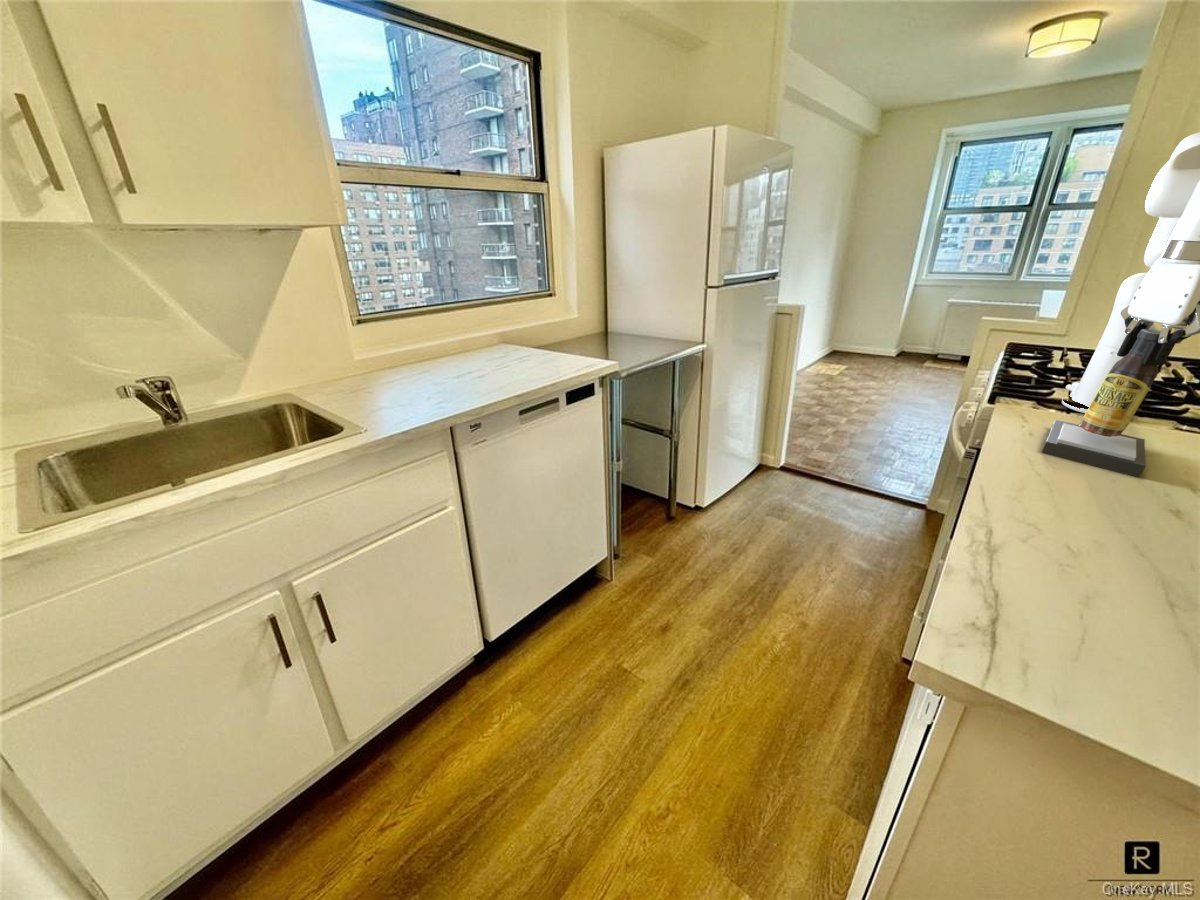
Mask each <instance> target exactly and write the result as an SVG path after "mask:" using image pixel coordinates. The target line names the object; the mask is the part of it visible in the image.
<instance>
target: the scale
mask: <svg viewBox="0 0 1200 900" xmlns="http://www.w3.org/2000/svg"><path fill="white" fill-rule="evenodd" d="M1080 425H1081V422H1080V423H1079V424H1077V423H1073V422H1067V421H1064V420H1059V419H1054V421H1053V423H1052V425H1051V427H1050V429H1049V431H1048V434H1047V437H1046V440H1045V441H1044V444H1043V446H1042V449H1041V453H1042V454H1045V455H1046V454H1047V455H1051V456H1055V457H1057V458H1062V459H1065V460H1069V461H1073V462H1077V463H1082V464H1086V465H1089V466H1094V467H1098V468H1101V469H1104V470H1109V471H1113V472H1117V473H1120V474H1125V475H1129V476H1132V477H1136V478H1140V476H1141V474H1142V473H1143V472H1144V470H1145V468H1146V441H1145V438H1141V437H1136V436H1132V435H1127V434H1123V433H1121V434H1120V435H1119V436H1111V437H1107V436H1102V435H1099V434H1095V433H1091V432H1089V431H1086V430H1084V429H1083V428H1082V427H1081V426H1080Z"/></svg>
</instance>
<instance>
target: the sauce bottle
mask: <svg viewBox="0 0 1200 900" xmlns="http://www.w3.org/2000/svg"><path fill="white" fill-rule="evenodd" d="M1160 332H1161V330H1159V329H1157V330H1152V329H1142V330H1141V331H1140V332H1139V334H1138V335H1137V340H1136V342H1135V344H1134V345H1133V347H1132V349H1131V350H1130V352H1129V353H1128V354H1127V355H1126V356H1124V357H1123V358H1122V359H1120V360H1119V361H1117V362H1116V363H1115V364H1114V366H1113V367H1112V369H1111V370H1110V372H1109V373H1108V374H1107V376H1106V378H1105V379H1104V381H1103V383H1102V385H1101V386H1100V388H1099V390H1098V392H1097V394H1096V395H1095V397H1094V399H1093V401H1092V403H1091V404H1090V406H1089V408H1088V410H1087V412H1086V413H1084V416H1082V420H1081V422H1080V423H1081V425H1080V426H1081V427H1082V428H1083V429H1084V430H1086V431H1089V432H1091V433H1095V434H1099V435H1102V436H1107V437H1111V436H1119V435H1120V434H1123V432H1124V431H1125V430H1127V427H1128V426H1129V424H1130V422H1131V421H1132V420H1133V418H1134V416H1135V414H1136V412H1137V410H1139V407H1140V405H1141V404H1142V403H1143V400H1144V399H1145V397H1146V396H1147V394H1148V392H1149V391H1150V389H1151V387H1152V384H1153V383H1154V381H1155V379H1156V378H1157V376H1158V375H1159V365H1145V364H1143V360H1144V358H1145V356H1146V354H1147V352H1148V351H1149V349H1150V347H1151V345H1152V343H1153V342H1158V339H1159V335H1160Z"/></svg>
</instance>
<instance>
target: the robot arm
mask: <svg viewBox="0 0 1200 900" xmlns="http://www.w3.org/2000/svg"><path fill="white" fill-rule="evenodd" d="M1144 208H1145V212H1146V214H1147V215H1148V216H1150V217H1154V218H1157V219H1159V220H1158V222H1157V224H1156V227H1155V229H1154V231H1153V233H1152V236H1151V238H1150V239H1149V243H1148V244H1147V247H1146V249H1145V252H1144V256H1143V263H1144V265H1145V266H1146V267H1147V268H1149V271H1148V272H1141V273H1137V274H1134V275H1131V276H1130V277H1128V278H1126V279H1125V280H1124V281H1123V282H1122V284H1121V285H1120V287H1119V289H1118V291H1117V293H1116V296H1115V299H1114V303H1113V307H1112V311H1111V314H1110V317H1109V320H1108V322H1107V324H1106V327H1105V329H1104V331H1103V333H1102V335H1101V338H1100V339H1099V342H1098V344H1097V346H1096V348H1095V350H1094V352H1093V354H1092V356H1091V358H1090V361H1089V362H1088V365H1087V366H1086V368H1085V371H1084V373H1083V374H1082V377H1081V379H1080V381H1075V382H1073V383H1071V384H1067V385H1065V390H1067V391H1070V394H1069V396H1070V397H1072V400H1073V401H1075V402H1078V403H1080V404H1083V405H1085V406H1087V407H1089V406H1090V404H1091V403H1092V401H1093V399H1094V397H1095V395H1096V394H1097V392H1098V390H1099V388H1100V386H1101V385H1102V383H1103V381H1104V379H1105V378H1106V376H1107V374H1108V373H1109V372H1110V370H1111V369H1112V367H1113V366H1114V364H1115V363H1116V362H1117V361H1119V360H1120V359H1122V358H1123V357H1124V356H1126V355H1127V354H1128V353H1129V352H1130V350H1131V349H1132V347H1133V345H1134V344H1135V342H1136V340H1137V335H1138V334H1139V332H1140V331H1141V330H1142V329H1152V330H1158V328H1157V327H1156V326H1155V324H1160V325H1162V326H1161V329H1160V331H1161V332H1160V335H1159V339H1158V342H1153V343H1152V345H1151V347H1150V349H1149V351H1148V352H1147V354H1146V356H1145V358H1144V360H1143V364H1145V365H1158V366H1163V365H1165V364H1166V362H1167V360H1168V358H1169V356H1170V355H1171V352H1172V351H1173V349H1174V347H1175V346H1176V345H1179V344H1181V343H1182V341H1184V340H1187V339H1188V338H1190V337H1192V336H1195V335H1199V334H1200V131H1199V132H1196V133H1192V134H1190V135H1189V136H1187V137H1185V138H1183V139H1182V140H1181V141H1179V143H1178V144H1177V146H1176V147H1175V149H1174V150H1173V152H1172V154H1171V156H1170V158H1169V160H1168V161H1167V162H1166V163H1165V164H1164V165H1163V166H1162V167H1161V168H1160V170H1159V172H1158V173H1157V174H1156V176H1155V178H1154V180H1153V182H1152V184H1151V187H1150V189H1149V191H1148V194H1147V196H1146V200H1145V204H1144ZM1154 323H1155V324H1154ZM1173 329H1174V331H1173ZM1172 331H1173V332H1172ZM1067 401H1068V400H1067ZM1061 404H1062V406H1064V407H1066V408H1068V409H1070V410H1072V411H1075V412H1078V413H1082V414H1085V413H1086V412H1087V410H1088V409H1084V408H1080V409H1079V408H1077V407H1074V406H1071V405H1069V404H1067V403H1065V402H1064V401H1063V399H1062V400H1061Z"/></svg>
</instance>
